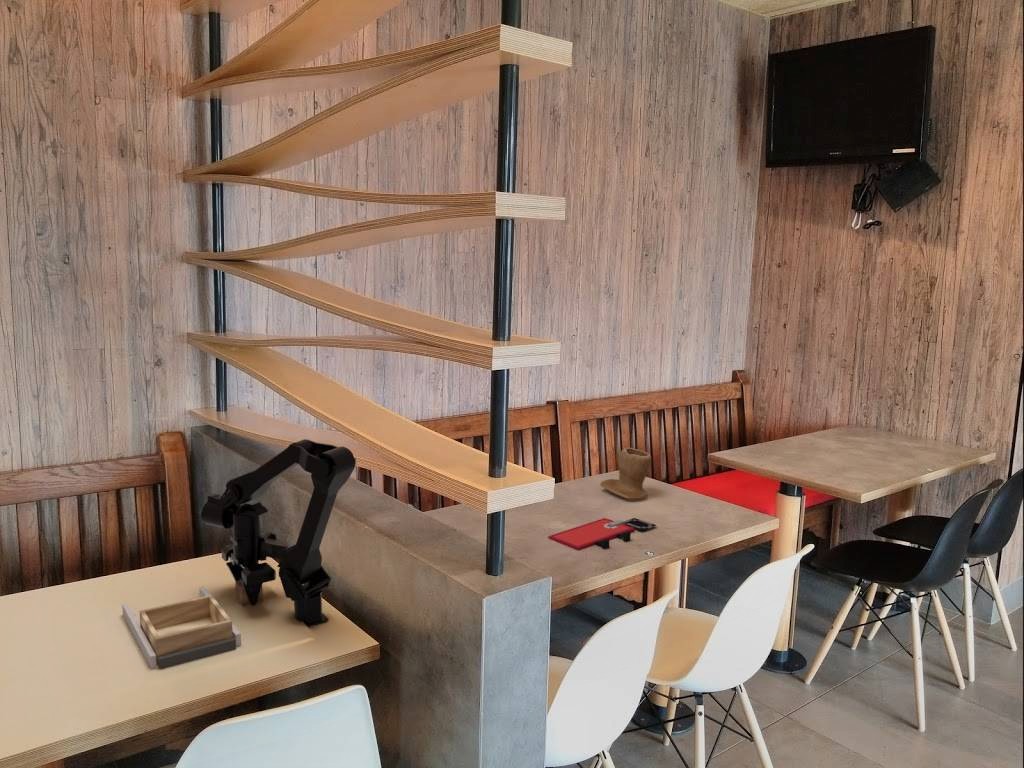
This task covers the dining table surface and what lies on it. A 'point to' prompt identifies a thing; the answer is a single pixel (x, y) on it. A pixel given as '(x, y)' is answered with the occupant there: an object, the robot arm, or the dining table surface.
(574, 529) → the red board with handle
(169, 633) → the crate
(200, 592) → the bay
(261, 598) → the block
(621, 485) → the brown boot
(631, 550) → the dining table surface
